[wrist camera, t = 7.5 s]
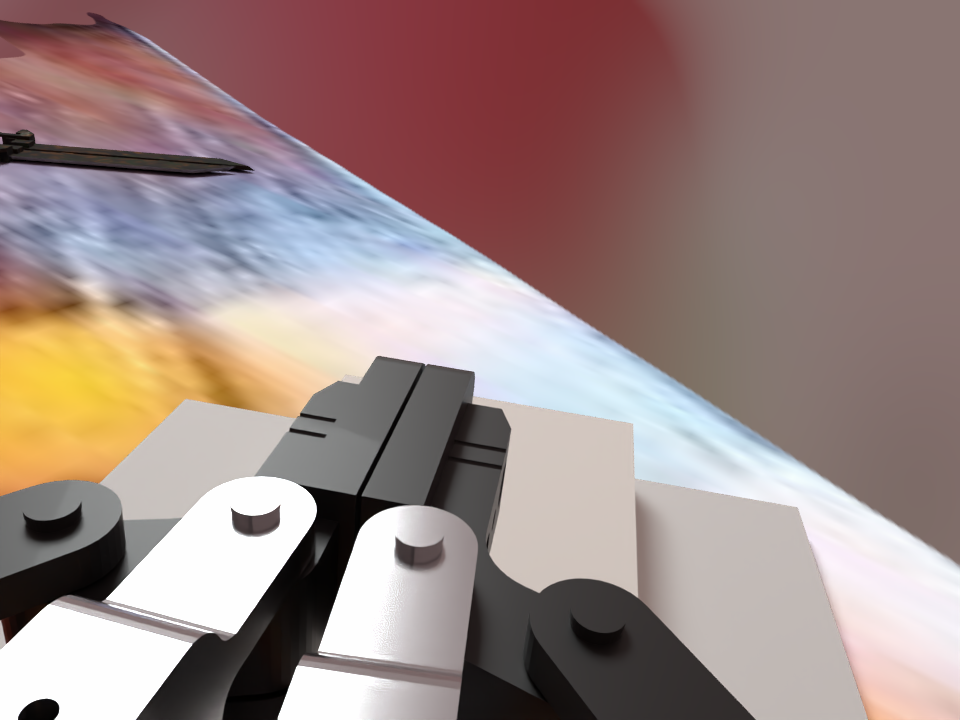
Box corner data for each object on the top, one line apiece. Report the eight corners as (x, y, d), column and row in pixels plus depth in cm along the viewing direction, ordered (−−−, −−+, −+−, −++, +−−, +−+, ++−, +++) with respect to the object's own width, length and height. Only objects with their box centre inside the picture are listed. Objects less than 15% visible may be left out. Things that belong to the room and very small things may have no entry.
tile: (39, 822, 12) (345, 374, 25) (57, 904, 13) (343, 430, 26) (649, 964, 11) (632, 423, 25) (621, 1041, 12) (620, 479, 25)
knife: (258, 175, 58) (258, 155, 57) (233, 199, 52) (233, 177, 51) (-106, 135, 56) (-110, 114, 56) (-173, 155, 51) (-179, 132, 50)
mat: (-523, 1150, 10) (-552, 1120, 10) (187, 419, 27) (185, 399, 27) (1129, 1633, 8) (1166, 1617, 8) (790, 528, 25) (797, 507, 25)
